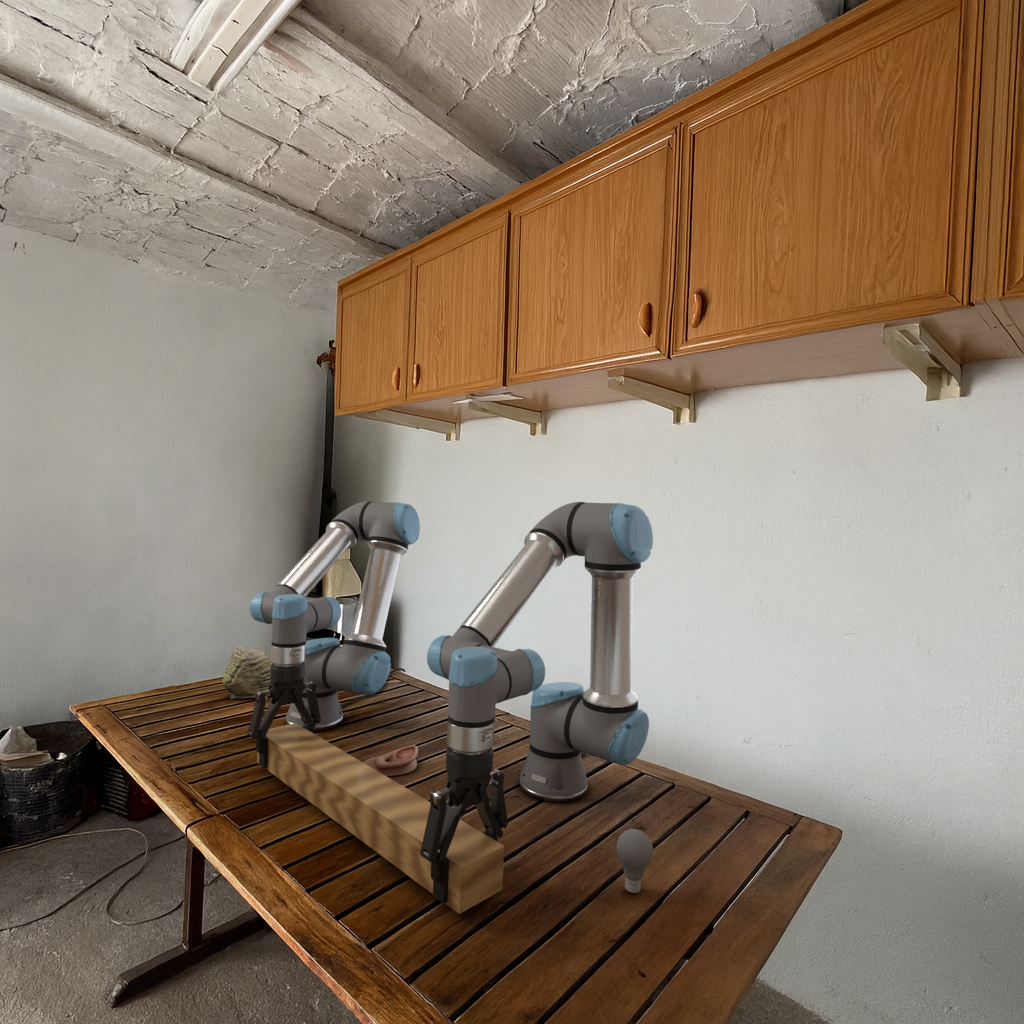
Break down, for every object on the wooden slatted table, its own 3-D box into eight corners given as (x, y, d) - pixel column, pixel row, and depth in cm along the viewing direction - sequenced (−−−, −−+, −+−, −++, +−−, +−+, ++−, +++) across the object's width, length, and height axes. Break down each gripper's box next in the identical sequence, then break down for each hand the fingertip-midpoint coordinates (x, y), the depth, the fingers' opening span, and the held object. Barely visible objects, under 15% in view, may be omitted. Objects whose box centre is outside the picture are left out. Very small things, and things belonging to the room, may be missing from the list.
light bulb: (610, 879, 108) (613, 822, 108) (644, 879, 109) (647, 822, 109) (619, 902, 102) (622, 840, 102) (655, 901, 103) (658, 840, 103)
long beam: (256, 762, 145) (258, 731, 145) (294, 752, 152) (295, 722, 151) (459, 914, 95) (461, 867, 95) (502, 889, 102) (504, 845, 101)
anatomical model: (351, 756, 145) (372, 738, 156) (350, 773, 145) (371, 754, 156) (406, 763, 142) (423, 744, 154) (405, 780, 143) (422, 760, 154)
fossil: (218, 695, 195) (220, 647, 195) (278, 685, 208) (279, 640, 207) (228, 703, 189) (230, 653, 188) (289, 692, 201) (290, 645, 201)
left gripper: (247, 674, 135) (243, 779, 135) (339, 659, 150) (335, 753, 151) (233, 666, 140) (229, 767, 140) (323, 653, 155) (319, 743, 156)
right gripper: (430, 773, 90) (423, 928, 91) (533, 737, 106) (528, 870, 106) (399, 756, 96) (393, 903, 96) (502, 724, 111) (497, 851, 112)
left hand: (284, 760), depth 145 cm, fingers closed on long beam, 9 cm apart
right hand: (464, 885), depth 101 cm, fingers closed on long beam, 9 cm apart
